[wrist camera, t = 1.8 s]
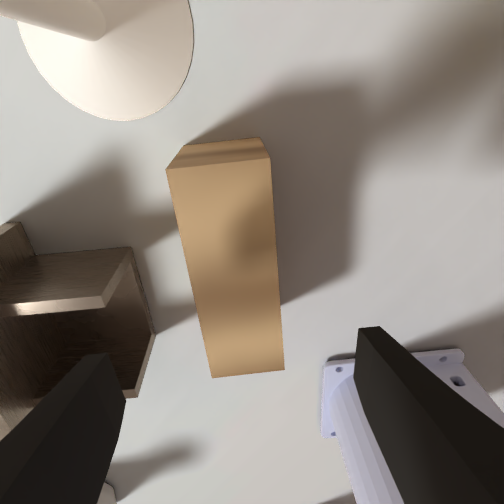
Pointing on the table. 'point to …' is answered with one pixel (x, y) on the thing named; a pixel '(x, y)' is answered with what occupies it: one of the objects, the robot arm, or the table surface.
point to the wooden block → (230, 252)
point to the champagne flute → (108, 51)
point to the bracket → (66, 320)
